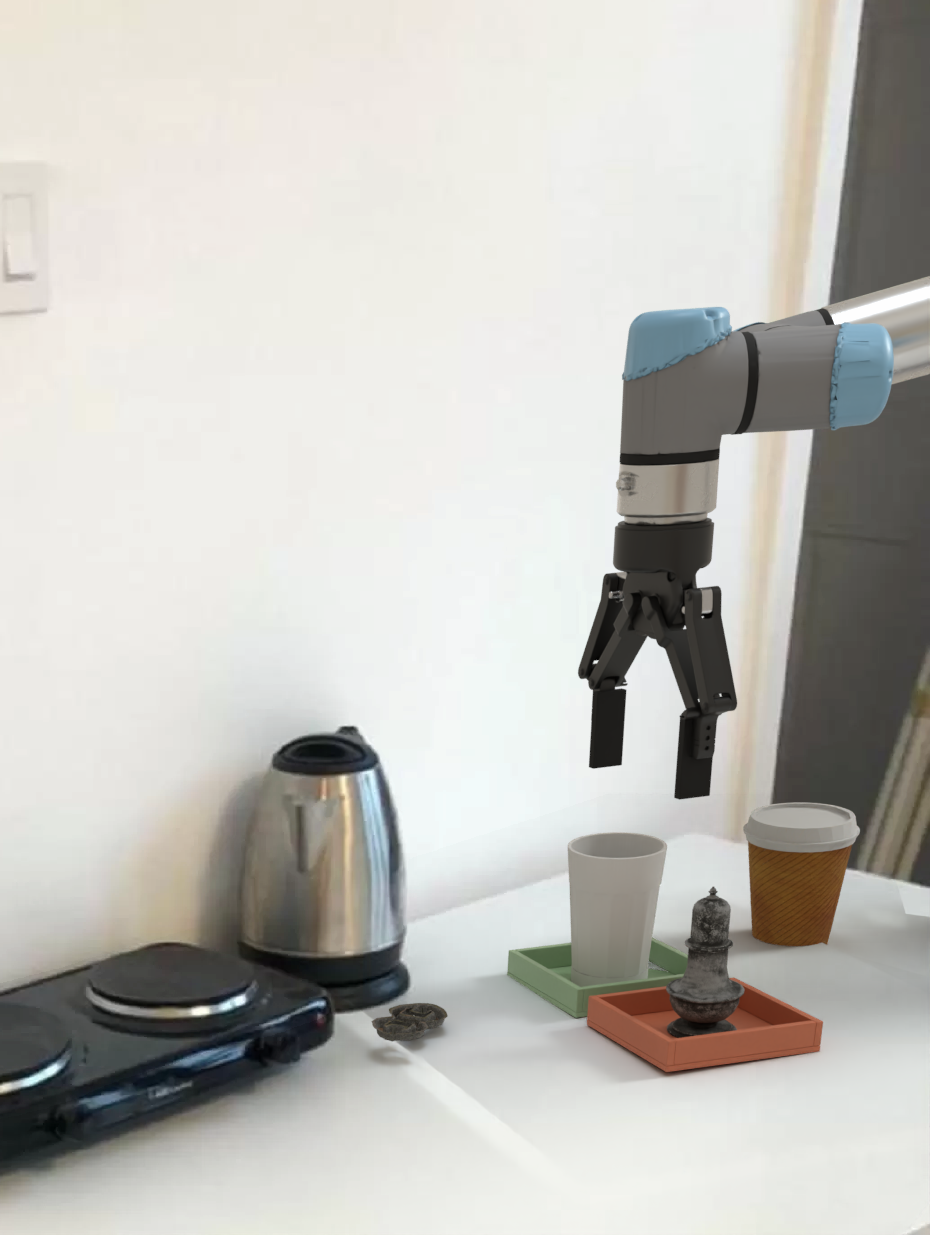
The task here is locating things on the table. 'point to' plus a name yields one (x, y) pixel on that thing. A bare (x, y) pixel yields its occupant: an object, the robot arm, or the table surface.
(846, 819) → the disposable coffee cup
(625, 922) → the cup
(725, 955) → the salt shaker
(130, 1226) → the table surface
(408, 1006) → the corroded twin loop
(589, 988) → the green tray
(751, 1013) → the terracotta tray
